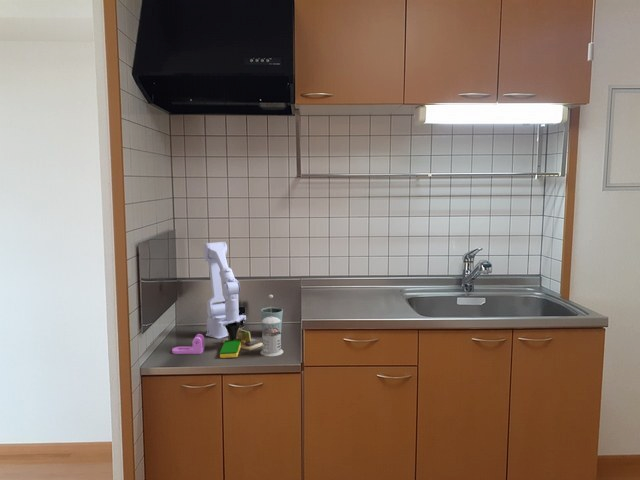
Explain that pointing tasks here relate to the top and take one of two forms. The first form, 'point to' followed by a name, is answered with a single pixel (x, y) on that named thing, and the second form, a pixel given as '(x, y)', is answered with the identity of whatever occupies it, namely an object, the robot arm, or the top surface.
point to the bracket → (195, 349)
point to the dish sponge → (230, 348)
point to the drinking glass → (272, 313)
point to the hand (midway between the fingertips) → (232, 339)
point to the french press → (271, 337)
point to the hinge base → (248, 344)
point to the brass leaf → (243, 336)
